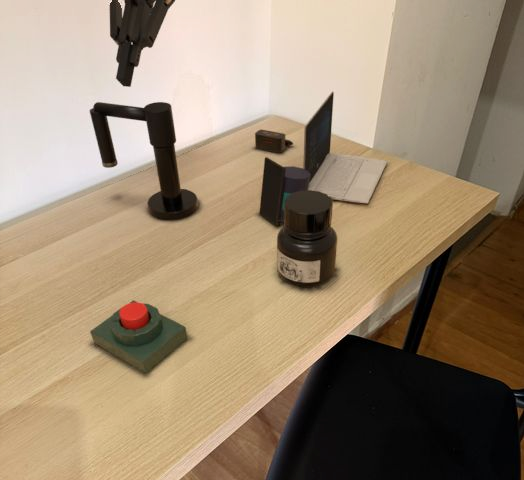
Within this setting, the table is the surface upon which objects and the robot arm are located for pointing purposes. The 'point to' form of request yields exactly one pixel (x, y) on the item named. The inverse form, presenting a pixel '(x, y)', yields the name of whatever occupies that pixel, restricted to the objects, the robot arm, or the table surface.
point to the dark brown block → (271, 141)
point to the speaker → (280, 188)
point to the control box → (140, 339)
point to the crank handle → (153, 114)
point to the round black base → (170, 189)
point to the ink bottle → (307, 240)
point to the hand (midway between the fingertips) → (123, 82)
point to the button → (134, 316)
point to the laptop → (337, 162)
